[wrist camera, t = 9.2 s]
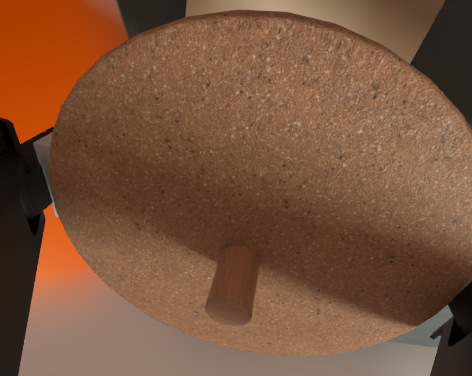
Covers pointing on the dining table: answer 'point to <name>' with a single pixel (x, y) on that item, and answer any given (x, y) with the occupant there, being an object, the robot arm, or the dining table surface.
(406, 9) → the beech block
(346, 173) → the lidded jar
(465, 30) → the dining table surface
